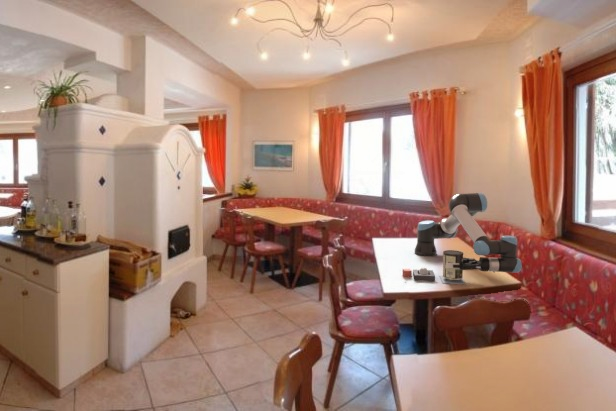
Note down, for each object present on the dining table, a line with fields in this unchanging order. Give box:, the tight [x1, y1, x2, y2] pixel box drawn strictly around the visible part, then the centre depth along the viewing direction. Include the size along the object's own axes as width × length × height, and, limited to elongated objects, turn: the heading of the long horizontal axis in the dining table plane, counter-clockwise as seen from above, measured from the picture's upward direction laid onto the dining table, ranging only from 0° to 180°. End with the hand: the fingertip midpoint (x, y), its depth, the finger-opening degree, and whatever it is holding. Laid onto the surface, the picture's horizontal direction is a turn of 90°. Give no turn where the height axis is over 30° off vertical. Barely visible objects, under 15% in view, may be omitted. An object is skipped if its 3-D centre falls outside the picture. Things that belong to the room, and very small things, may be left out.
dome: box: [419, 267, 429, 275], centre depth 201 cm, size 5×5×5 cm
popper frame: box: [412, 269, 436, 282], centre depth 201 cm, size 11×11×3 cm
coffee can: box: [442, 249, 464, 280], centre depth 195 cm, size 10×10×14 cm
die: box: [402, 268, 413, 279], centre depth 205 cm, size 4×4×4 cm
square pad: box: [438, 275, 467, 285], centre depth 196 cm, size 12×12×1 cm
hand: (444, 262), depth 196 cm, fingers closed on coffee can, 10 cm apart
